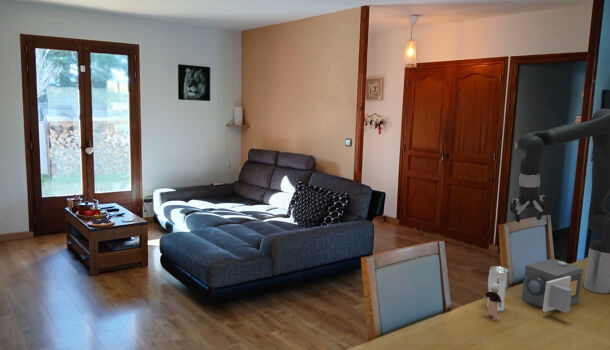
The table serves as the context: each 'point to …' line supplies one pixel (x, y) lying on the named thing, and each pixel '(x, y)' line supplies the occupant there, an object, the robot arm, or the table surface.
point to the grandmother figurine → (493, 301)
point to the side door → (558, 295)
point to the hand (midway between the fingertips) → (527, 220)
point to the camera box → (546, 272)
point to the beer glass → (499, 282)
